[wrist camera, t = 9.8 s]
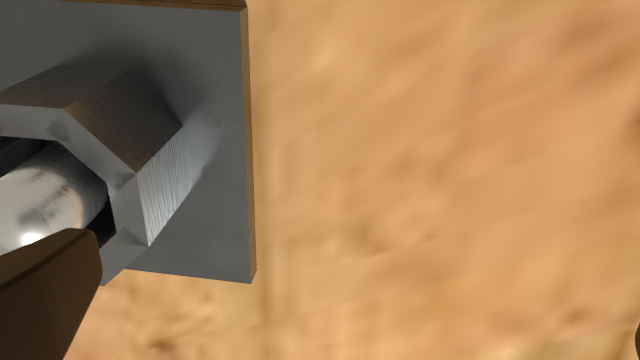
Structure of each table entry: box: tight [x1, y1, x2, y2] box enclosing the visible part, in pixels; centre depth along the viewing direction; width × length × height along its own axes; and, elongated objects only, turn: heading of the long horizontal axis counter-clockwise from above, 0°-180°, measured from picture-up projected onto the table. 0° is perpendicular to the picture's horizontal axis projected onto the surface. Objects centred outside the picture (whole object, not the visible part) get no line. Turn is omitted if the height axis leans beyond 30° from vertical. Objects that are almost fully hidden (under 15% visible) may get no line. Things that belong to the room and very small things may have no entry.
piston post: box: [0, 0, 256, 284], centre depth 19 cm, size 12×12×7 cm
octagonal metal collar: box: [0, 67, 190, 286], centre depth 19 cm, size 7×7×4 cm
